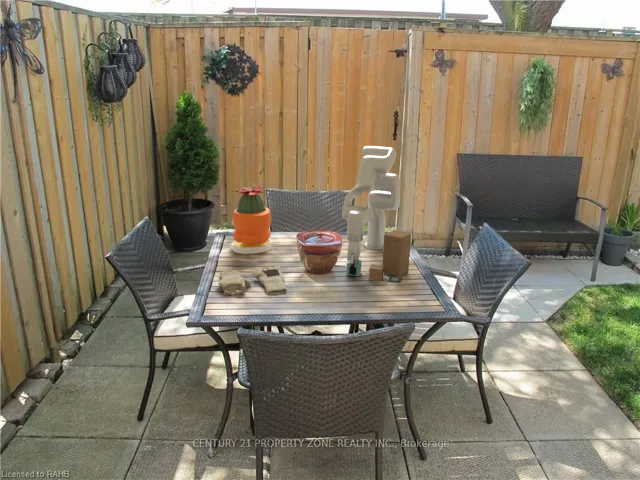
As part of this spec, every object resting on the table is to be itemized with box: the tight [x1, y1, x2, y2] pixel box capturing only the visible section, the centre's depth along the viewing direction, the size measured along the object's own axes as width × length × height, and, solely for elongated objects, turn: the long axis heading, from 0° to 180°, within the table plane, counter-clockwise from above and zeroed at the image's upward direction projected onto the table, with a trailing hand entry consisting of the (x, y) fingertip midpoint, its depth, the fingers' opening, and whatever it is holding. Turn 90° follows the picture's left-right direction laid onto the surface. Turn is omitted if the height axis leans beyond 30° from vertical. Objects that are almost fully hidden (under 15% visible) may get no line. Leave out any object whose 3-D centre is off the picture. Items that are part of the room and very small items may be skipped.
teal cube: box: [346, 259, 363, 277], centre depth 259 cm, size 6×6×6 cm
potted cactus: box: [231, 184, 272, 255], centre depth 287 cm, size 22×22×35 cm
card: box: [387, 275, 403, 284], centre depth 254 cm, size 6×6×1 cm
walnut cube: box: [368, 263, 384, 282], centre depth 255 cm, size 6×6×6 cm
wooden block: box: [381, 229, 412, 278], centre depth 261 cm, size 10×10×20 cm
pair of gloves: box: [218, 265, 288, 297], centre depth 247 cm, size 30×26×5 cm
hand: (353, 271), depth 260 cm, fingers closed on teal cube, 6 cm apart
